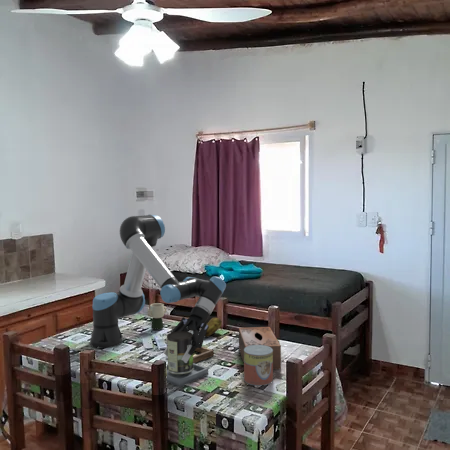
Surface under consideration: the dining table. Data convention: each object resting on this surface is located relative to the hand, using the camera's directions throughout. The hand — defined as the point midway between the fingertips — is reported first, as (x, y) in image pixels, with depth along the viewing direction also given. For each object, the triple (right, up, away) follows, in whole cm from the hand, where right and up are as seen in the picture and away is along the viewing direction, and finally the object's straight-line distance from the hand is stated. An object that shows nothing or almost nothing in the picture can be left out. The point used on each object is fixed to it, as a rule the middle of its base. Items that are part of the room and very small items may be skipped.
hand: (174, 358), depth 186 cm
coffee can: (+2, -5, +3) cm, 6 cm away
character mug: (-16, -3, +63) cm, 65 cm away
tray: (+2, -8, +3) cm, 8 cm away
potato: (+13, -3, +53) cm, 55 cm away
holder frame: (+5, -6, +23) cm, 25 cm away
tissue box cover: (+35, -6, +21) cm, 41 cm away
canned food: (+33, -8, -2) cm, 34 cm away
